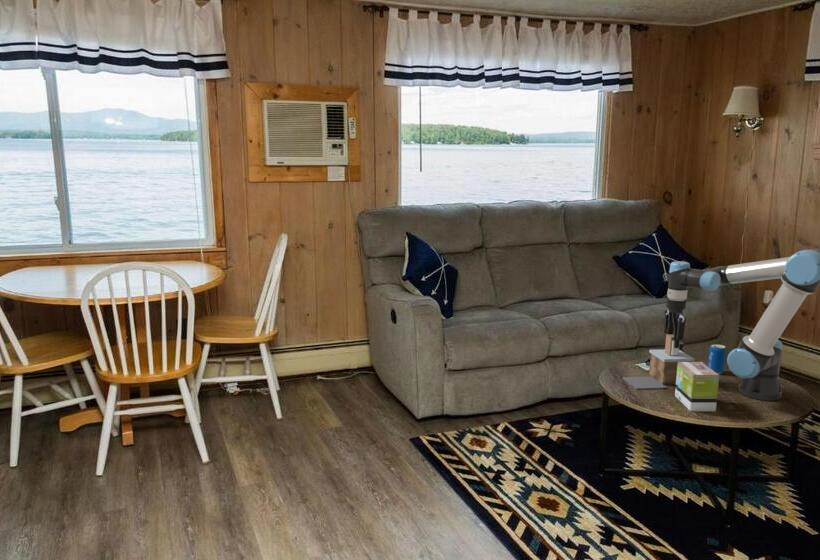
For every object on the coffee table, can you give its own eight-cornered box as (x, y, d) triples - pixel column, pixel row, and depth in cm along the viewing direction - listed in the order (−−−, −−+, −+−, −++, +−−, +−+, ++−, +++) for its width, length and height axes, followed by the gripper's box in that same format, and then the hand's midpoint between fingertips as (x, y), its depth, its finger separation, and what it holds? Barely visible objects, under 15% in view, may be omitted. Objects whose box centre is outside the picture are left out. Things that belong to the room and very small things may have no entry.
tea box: (673, 396, 254) (677, 360, 251) (699, 397, 254) (702, 361, 251) (689, 411, 239) (693, 373, 236) (716, 412, 239) (720, 374, 236)
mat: (666, 388, 262) (667, 387, 262) (636, 389, 261) (636, 388, 261) (651, 377, 275) (651, 376, 275) (622, 378, 273) (622, 377, 273)
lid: (694, 363, 266) (696, 339, 264) (664, 364, 264) (666, 340, 262) (677, 354, 278) (680, 331, 276) (649, 354, 277) (651, 331, 275)
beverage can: (704, 370, 285) (706, 344, 282) (716, 369, 286) (719, 343, 284) (714, 375, 279) (716, 348, 276) (726, 374, 280) (729, 347, 278)
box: (690, 383, 268) (692, 360, 266) (662, 384, 266) (664, 361, 265) (675, 374, 279) (677, 352, 278) (649, 374, 278) (650, 352, 276)
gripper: (658, 294, 274) (653, 347, 279) (678, 303, 257) (673, 359, 262) (674, 294, 275) (669, 347, 279) (696, 303, 258) (690, 359, 263)
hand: (671, 353), depth 271 cm, fingers closed on lid, 4 cm apart
